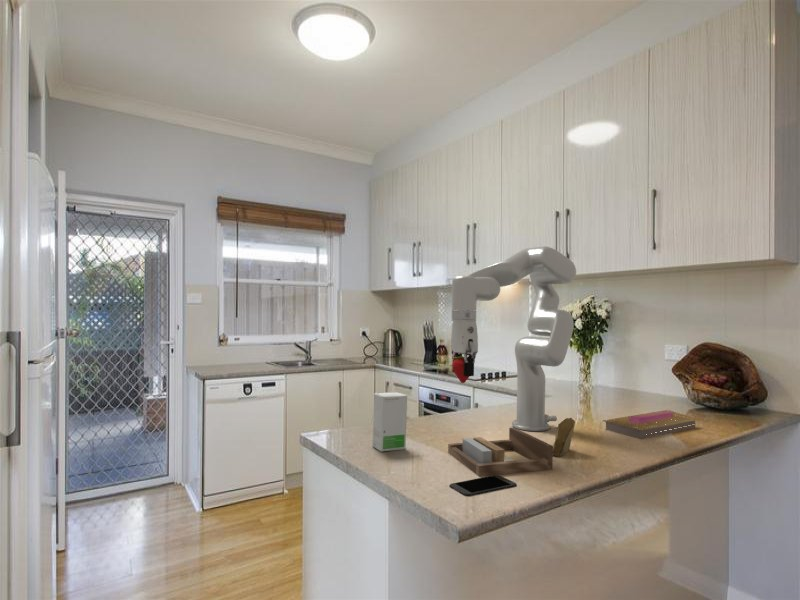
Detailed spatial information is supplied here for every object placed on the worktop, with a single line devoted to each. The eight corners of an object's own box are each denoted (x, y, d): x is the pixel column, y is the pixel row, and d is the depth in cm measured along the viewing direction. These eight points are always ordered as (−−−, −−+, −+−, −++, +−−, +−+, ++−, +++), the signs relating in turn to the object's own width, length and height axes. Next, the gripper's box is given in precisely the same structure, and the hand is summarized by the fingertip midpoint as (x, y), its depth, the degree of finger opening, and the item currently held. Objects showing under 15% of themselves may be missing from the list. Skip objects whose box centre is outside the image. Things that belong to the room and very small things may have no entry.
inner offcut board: (480, 455, 131) (481, 437, 131) (504, 469, 120) (504, 449, 120) (472, 455, 130) (473, 437, 130) (495, 470, 119) (496, 450, 119)
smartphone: (446, 486, 107) (447, 482, 107) (497, 477, 114) (497, 473, 114) (466, 499, 101) (466, 494, 101) (518, 487, 108) (518, 484, 108)
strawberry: (463, 385, 138) (464, 352, 138) (447, 382, 144) (447, 349, 144) (478, 384, 141) (478, 351, 141) (461, 380, 147) (461, 349, 148)
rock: (565, 452, 127) (589, 443, 132) (548, 423, 131) (572, 415, 136) (542, 466, 135) (566, 456, 139) (527, 438, 139) (551, 430, 144)
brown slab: (659, 420, 180) (659, 404, 180) (699, 429, 168) (699, 412, 168) (601, 430, 162) (602, 413, 162) (641, 441, 150) (641, 422, 150)
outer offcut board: (470, 456, 130) (470, 438, 130) (491, 470, 118) (491, 450, 118) (462, 456, 129) (462, 438, 129) (482, 471, 118) (482, 451, 118)
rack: (513, 447, 138) (513, 427, 138) (552, 469, 120) (552, 445, 120) (448, 452, 132) (448, 431, 132) (478, 476, 114) (479, 451, 114)
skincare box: (380, 452, 131) (382, 396, 131) (371, 446, 136) (372, 392, 137) (407, 449, 134) (408, 394, 135) (396, 442, 140) (397, 391, 141)
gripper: (488, 317, 136) (487, 378, 135) (463, 316, 152) (461, 370, 152) (464, 317, 134) (463, 378, 133) (441, 315, 150) (440, 370, 150)
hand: (462, 373), depth 143 cm, fingers closed on strawberry, 7 cm apart
